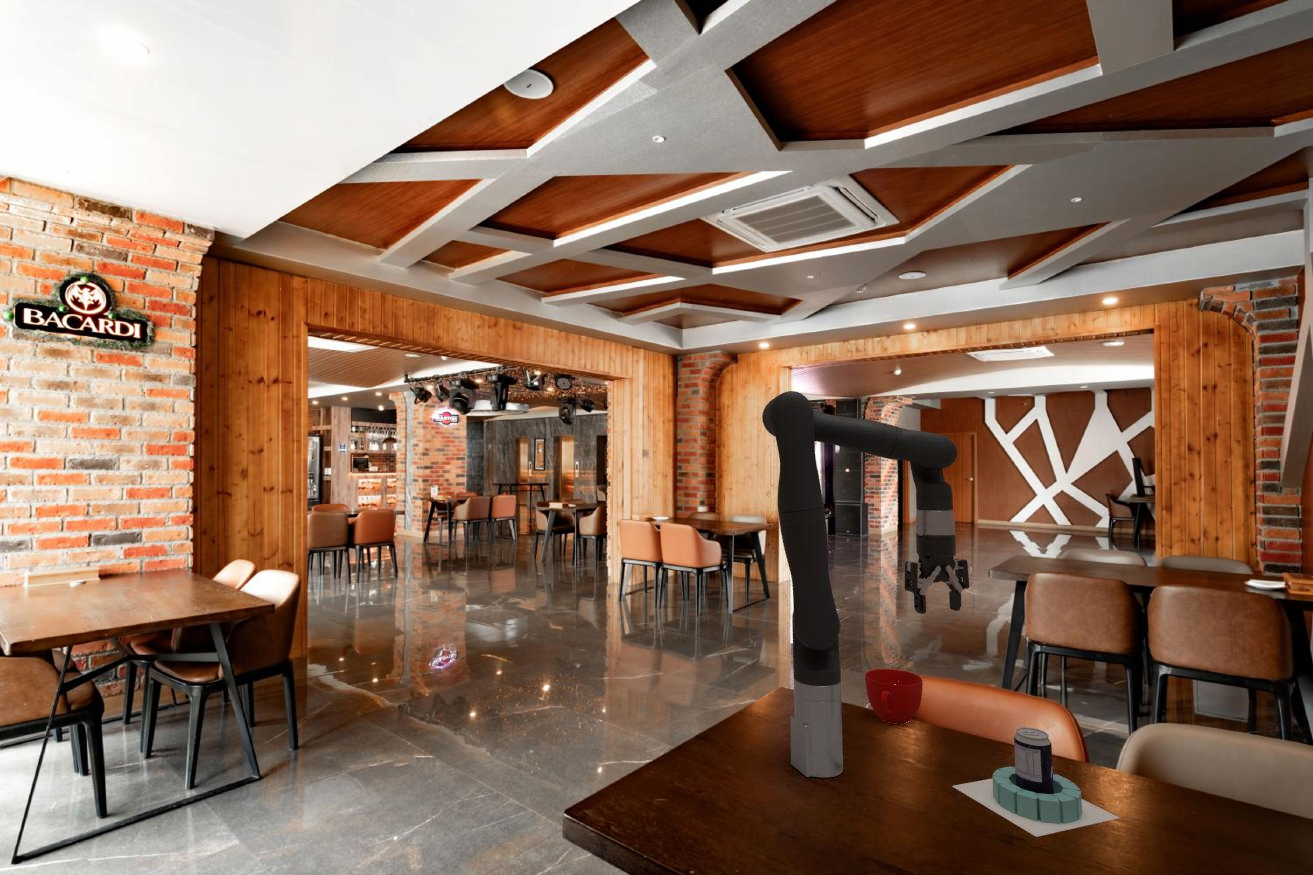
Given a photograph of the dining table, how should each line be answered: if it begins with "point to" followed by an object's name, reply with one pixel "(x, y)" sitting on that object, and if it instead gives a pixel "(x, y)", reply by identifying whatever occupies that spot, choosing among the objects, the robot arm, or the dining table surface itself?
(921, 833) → the dining table surface
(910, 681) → the ceramic cup
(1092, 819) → the mat
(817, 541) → the robot arm
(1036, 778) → the beverage can
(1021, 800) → the ring
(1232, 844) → the dining table surface
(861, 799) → the dining table surface
